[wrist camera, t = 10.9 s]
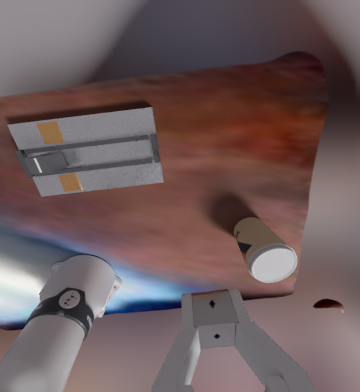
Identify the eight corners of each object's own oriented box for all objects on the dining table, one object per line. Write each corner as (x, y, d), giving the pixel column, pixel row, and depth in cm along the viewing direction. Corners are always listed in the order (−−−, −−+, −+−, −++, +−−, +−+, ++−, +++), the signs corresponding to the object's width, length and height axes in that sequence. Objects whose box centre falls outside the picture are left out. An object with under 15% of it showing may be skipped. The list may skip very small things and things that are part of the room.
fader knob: (61, 151, 31) (44, 156, 27) (67, 166, 33) (51, 172, 28) (43, 154, 32) (23, 158, 27) (49, 168, 33) (31, 174, 28)
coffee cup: (225, 222, 42) (244, 257, 31) (262, 208, 40) (295, 239, 29) (236, 249, 45) (256, 289, 34) (270, 237, 44) (302, 274, 33)
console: (153, 108, 31) (151, 106, 28) (164, 179, 37) (163, 183, 34) (16, 124, 31) (1, 124, 29) (48, 192, 37) (38, 198, 34)
